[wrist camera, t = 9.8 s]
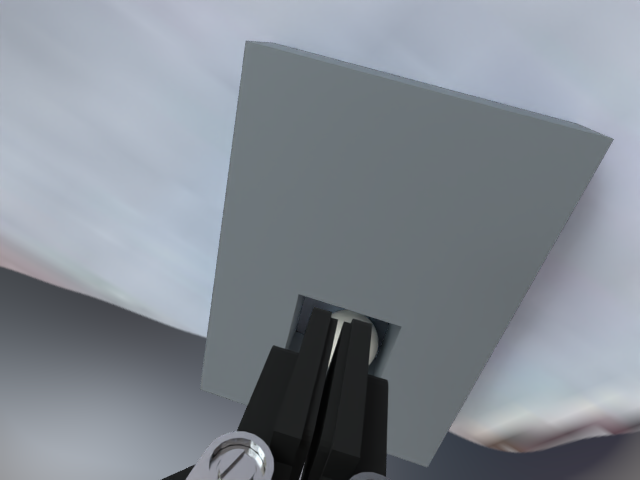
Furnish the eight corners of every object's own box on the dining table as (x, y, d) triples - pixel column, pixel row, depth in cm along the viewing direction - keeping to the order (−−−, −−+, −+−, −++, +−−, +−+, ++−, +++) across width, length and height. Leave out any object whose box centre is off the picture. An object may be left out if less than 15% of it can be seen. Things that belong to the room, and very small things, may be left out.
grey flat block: (273, 42, 21) (245, 40, 18) (577, 123, 20) (613, 139, 16) (223, 351, 31) (199, 389, 28) (425, 418, 30) (427, 467, 26)
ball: (333, 288, 26) (325, 335, 23) (389, 310, 27) (389, 359, 23) (312, 326, 28) (302, 373, 25) (364, 345, 29) (360, 394, 26)
